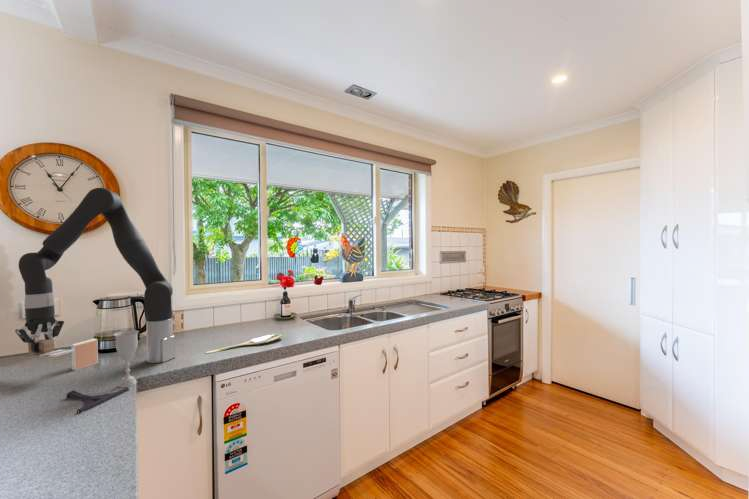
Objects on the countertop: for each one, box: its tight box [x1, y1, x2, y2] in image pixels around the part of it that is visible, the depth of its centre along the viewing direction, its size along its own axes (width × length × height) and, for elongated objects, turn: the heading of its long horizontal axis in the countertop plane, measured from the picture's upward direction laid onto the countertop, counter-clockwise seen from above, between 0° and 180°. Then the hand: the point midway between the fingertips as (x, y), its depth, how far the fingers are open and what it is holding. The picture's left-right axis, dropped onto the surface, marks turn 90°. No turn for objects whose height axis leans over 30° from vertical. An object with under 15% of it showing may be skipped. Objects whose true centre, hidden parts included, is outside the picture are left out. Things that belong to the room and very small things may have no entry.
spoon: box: [205, 333, 282, 355], centre depth 149 cm, size 35×11×2 cm, turn 126°
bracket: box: [65, 386, 130, 413], centre depth 98 cm, size 14×15×3 cm
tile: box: [70, 338, 99, 371], centre depth 125 cm, size 2×8×10 cm, turn 167°
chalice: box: [113, 329, 140, 388], centre depth 108 cm, size 7×7×18 cm
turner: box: [27, 338, 75, 358], centre depth 116 cm, size 16×6×5 cm, turn 77°
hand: (42, 350), depth 116 cm, fingers closed on turner, 3 cm apart
